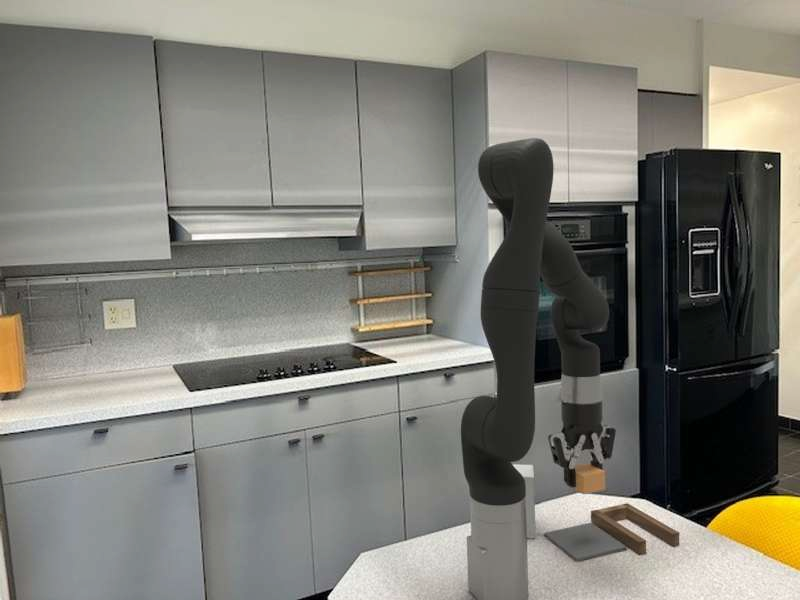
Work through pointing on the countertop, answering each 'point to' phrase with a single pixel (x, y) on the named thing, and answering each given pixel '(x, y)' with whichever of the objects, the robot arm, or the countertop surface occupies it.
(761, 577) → the countertop surface
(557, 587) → the countertop surface
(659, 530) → the cubby
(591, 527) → the mat
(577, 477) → the block
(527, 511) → the supplement box
